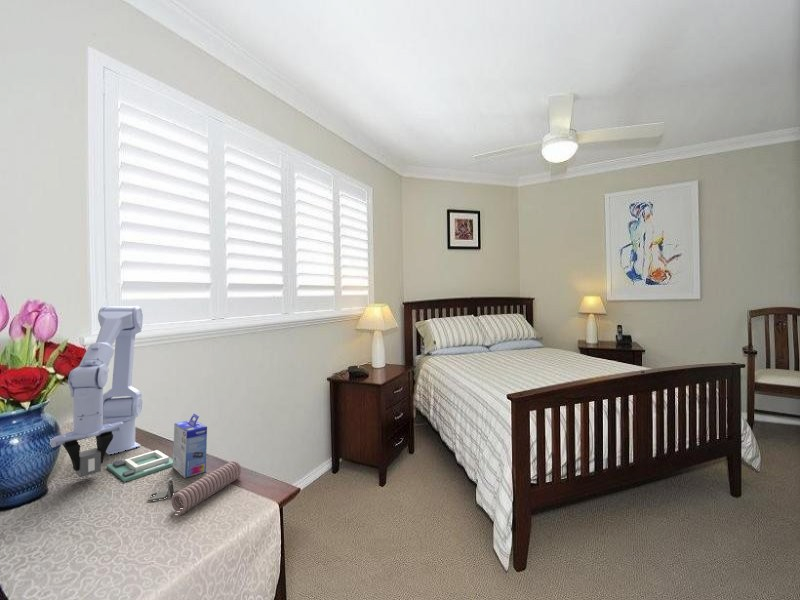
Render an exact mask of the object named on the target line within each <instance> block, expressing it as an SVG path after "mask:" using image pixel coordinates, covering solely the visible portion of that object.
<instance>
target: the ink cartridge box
mask: <svg viewBox="0 0 800 600" xmlns="http://www.w3.org/2000/svg"><path fill="white" fill-rule="evenodd" d="M199 417H200V416H199V415H197V414H196V413H193V414H192V416H191V417H190V419H189V420H183V421H180V422H176V423H174V427H173V448H172V449H173V450H172V460H173V466H172V468H173V469H174V470H175V471H177V473H179V474H180V475H181V476H182V477H183V478H190V477H192V476H193V477H194V476H195V475H200V474H203V473H206V472H207V446H208V445H207V443H208V442H207V438H208V426H206V425H204V424H203V423H201V422H199V421H198V420H199ZM194 418H195V419H194Z"/></svg>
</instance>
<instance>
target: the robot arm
mask: <svg viewBox="0 0 800 600" xmlns="http://www.w3.org/2000/svg"><path fill="white" fill-rule="evenodd" d="M143 316H144V315H143V310H142V308H141V307H140V306H139V305H135V306H133V305H132V306H131V305H129V306H126V305H125V306H123V305H122V306H118V305H116V306H112V305H111V306H109V305H102V306H101V307H100V309H99V310H98V313H97V320H98V323H99V326H100V329H99V332H98V335H97V337H96V340H95V343H92V344H90V345H88V346H87V349H86V351H85V353H84V355H83V357H82V360H80V363H79V365H78V366H77V367H75V368H73V369H71V370H70V372H69V374H68V380H67V385H68V388H69V390H70V397H71V398H72V399H73V401H72V403H73V405H72V406H73V409H72V411H73V412H72V415H73V422H72V425H73V427H72V429H73V430H72V431H69V432H66V433H62V434H60V435H56V436H53V437H54V438H52V437H51V438H52V439H50V445H51V447H52V448H51V449H53V448H56V447H57V446H60V445H62V446H63V448H64V449H65V450H66V452H67V454H68V456H69V458H70V460H71V463H72V468H73V470H74V471H75V472H76V471H78V470H79V468H80V464H79V453H80V452H81V445H80V444H79V441H81V440H86V439H89V438H94V437H95V440H96V448H97V449H98V450H99V451H100V452H101V464H103V463H104V458H105V454H107V455H109V456H110V454H112V455H115V454H118V452H119V453H122V452H126V451H129V450H133V449H136V447H137V448H140V447H141V444H140V443H138V442H136V418H137V417H139V415H141V413H142V409H143V399H142V396H143V395H142V392H141V391H140V390H139V389H138V388H135V387H133V386H132V382H133V381H132V380H133V367H134V365H133V364H134V354H135V351H134V349H135V342H136V341H135V339H136V335H137V334H139V333H141V332H142V328H143V319H144V318H143ZM114 343H115V345H114V348H113V344H114ZM113 355H114V356H113ZM113 357H114V358H113ZM112 358H113V369H112V382H111V383H112V384H111V388H110V389H108V391H106V392H104V387H105V386H106V384H107V382H108V379H109V378H108V377H109V376H108V375H109V372H110V370H109V365H110V362H111V361H112ZM125 450H126V451H125ZM114 453H115V454H114Z"/></svg>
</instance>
